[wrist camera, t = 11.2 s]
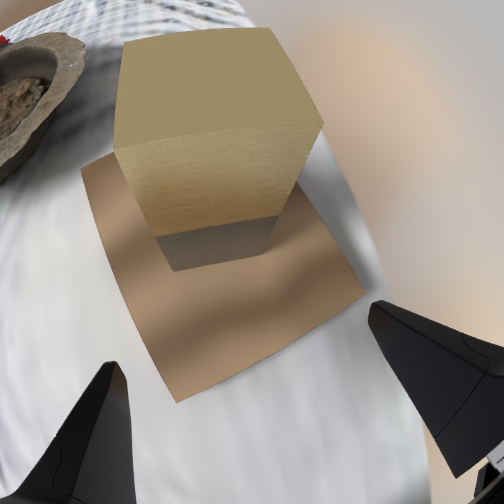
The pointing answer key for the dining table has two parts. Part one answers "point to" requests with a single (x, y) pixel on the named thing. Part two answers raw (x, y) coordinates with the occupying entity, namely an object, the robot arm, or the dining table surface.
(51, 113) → the stone bowl
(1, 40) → the glasses
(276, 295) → the walnut stand
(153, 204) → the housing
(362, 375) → the dining table surface
